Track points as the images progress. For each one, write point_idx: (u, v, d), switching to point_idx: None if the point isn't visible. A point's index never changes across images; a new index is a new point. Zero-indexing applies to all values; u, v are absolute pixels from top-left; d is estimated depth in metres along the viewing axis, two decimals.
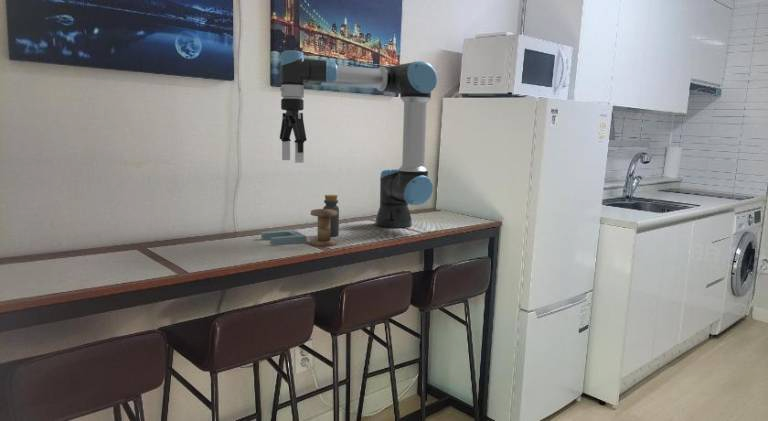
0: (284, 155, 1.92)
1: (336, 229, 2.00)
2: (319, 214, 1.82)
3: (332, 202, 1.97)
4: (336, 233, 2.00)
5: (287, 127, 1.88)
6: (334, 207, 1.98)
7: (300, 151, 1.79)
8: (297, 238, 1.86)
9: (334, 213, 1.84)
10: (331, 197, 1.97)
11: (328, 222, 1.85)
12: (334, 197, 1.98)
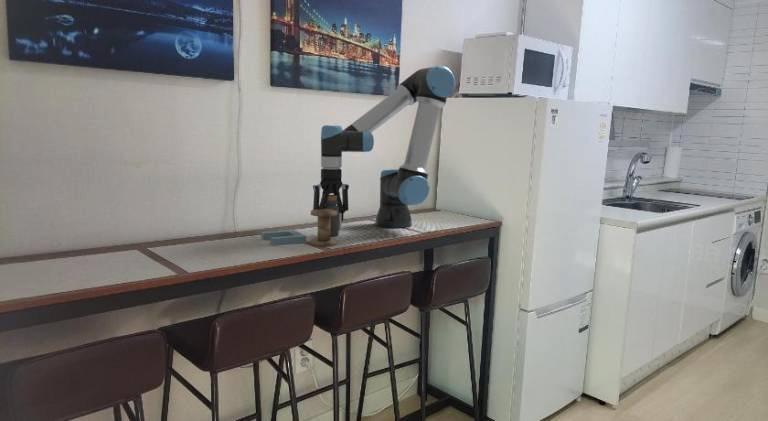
0: None
1: (336, 229, 2.00)
2: (319, 214, 1.82)
3: (332, 202, 1.97)
4: (336, 233, 2.00)
5: None
6: (334, 207, 1.98)
7: None
8: (297, 238, 1.86)
9: (334, 213, 1.84)
10: (331, 197, 1.97)
11: (328, 222, 1.85)
12: (334, 197, 1.98)
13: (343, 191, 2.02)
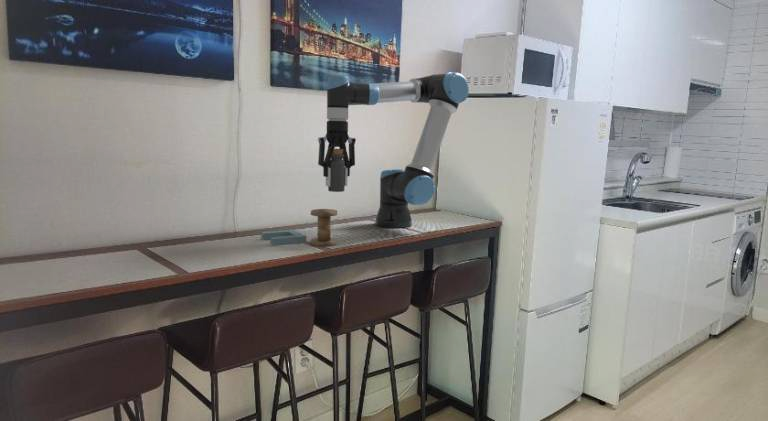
0: None
1: (342, 184, 1.93)
2: (319, 214, 1.82)
3: (338, 155, 1.91)
4: (341, 188, 1.93)
5: None
6: (340, 161, 1.92)
7: (324, 175, 1.92)
8: (297, 238, 1.86)
9: (334, 213, 1.84)
10: (337, 150, 1.91)
11: (328, 222, 1.85)
12: (340, 150, 1.91)
13: (350, 145, 1.95)
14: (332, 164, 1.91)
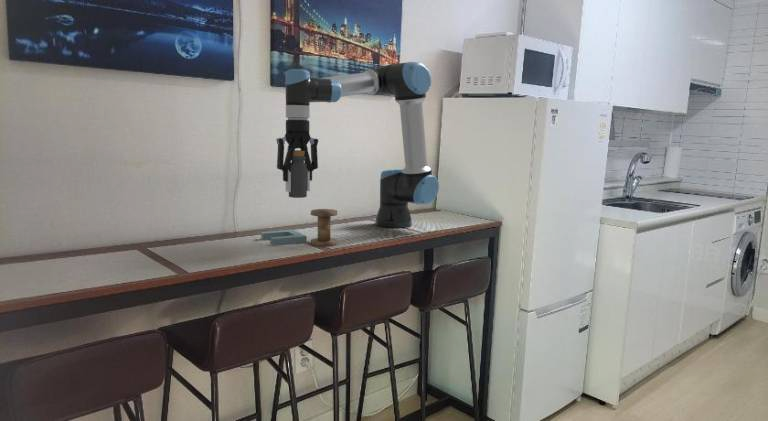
0: None
1: (303, 189, 1.75)
2: (319, 214, 1.82)
3: (298, 158, 1.73)
4: (303, 193, 1.76)
5: None
6: (301, 163, 1.74)
7: (283, 180, 1.74)
8: (297, 238, 1.86)
9: (334, 213, 1.84)
10: (297, 152, 1.73)
11: (328, 222, 1.85)
12: (301, 152, 1.74)
13: (312, 146, 1.77)
14: (293, 168, 1.73)
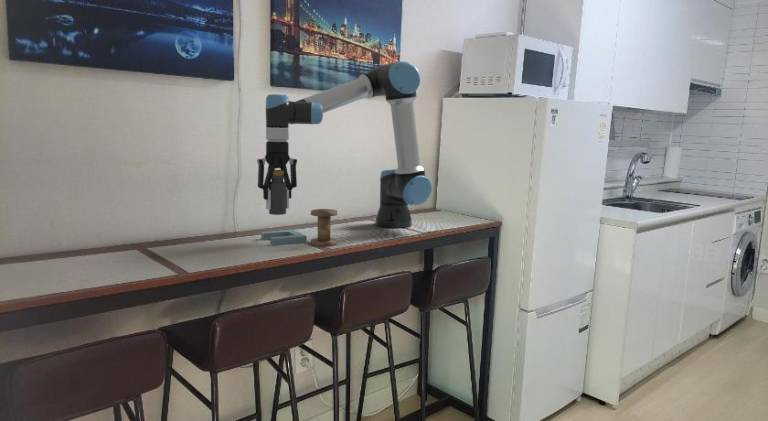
0: None
1: (283, 206, 1.86)
2: (319, 214, 1.82)
3: (278, 177, 1.84)
4: (283, 211, 1.86)
5: None
6: (280, 183, 1.85)
7: (264, 198, 1.85)
8: (297, 238, 1.86)
9: (334, 213, 1.84)
10: (277, 172, 1.84)
11: (328, 222, 1.85)
12: (280, 172, 1.84)
13: (291, 166, 1.88)
14: (272, 187, 1.84)
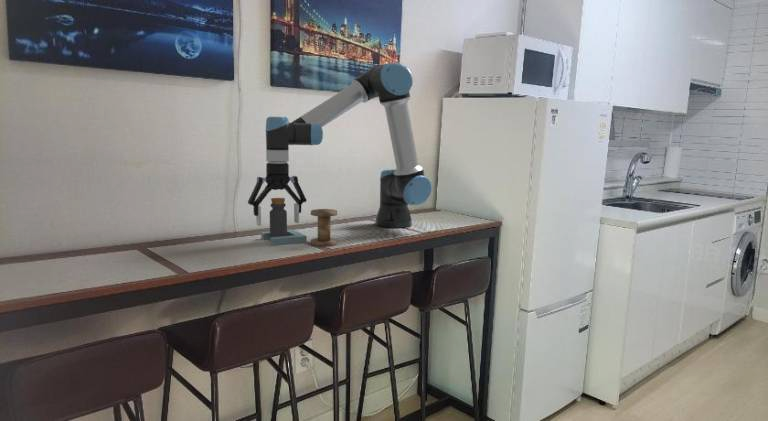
0: (294, 217, 1.92)
1: (283, 234, 1.88)
2: (319, 214, 1.82)
3: (278, 206, 1.86)
4: None
5: (286, 190, 1.89)
6: (281, 211, 1.86)
7: (254, 214, 1.84)
8: (297, 238, 1.86)
9: (334, 213, 1.84)
10: (277, 200, 1.86)
11: (328, 222, 1.85)
12: (281, 200, 1.86)
13: (294, 184, 1.90)
14: (273, 215, 1.86)
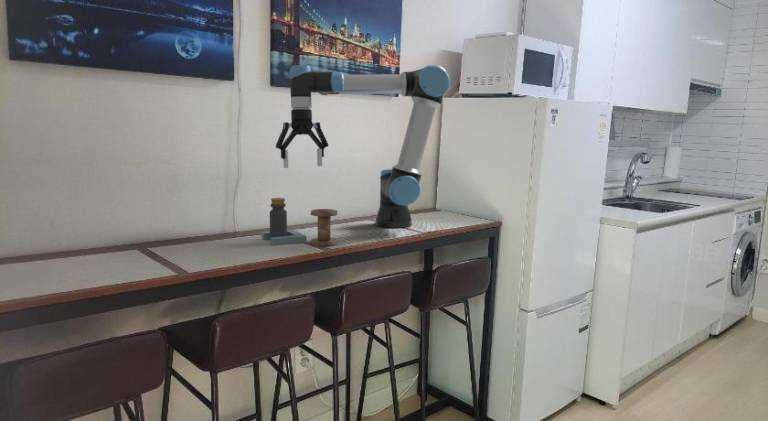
0: (317, 161, 2.06)
1: (283, 234, 1.88)
2: (319, 214, 1.82)
3: (278, 206, 1.86)
4: None
5: (309, 135, 2.03)
6: (281, 211, 1.86)
7: (281, 157, 1.98)
8: (297, 238, 1.86)
9: (334, 213, 1.84)
10: (277, 200, 1.85)
11: (328, 222, 1.85)
12: (281, 200, 1.86)
13: (317, 129, 2.03)
14: (273, 215, 1.86)
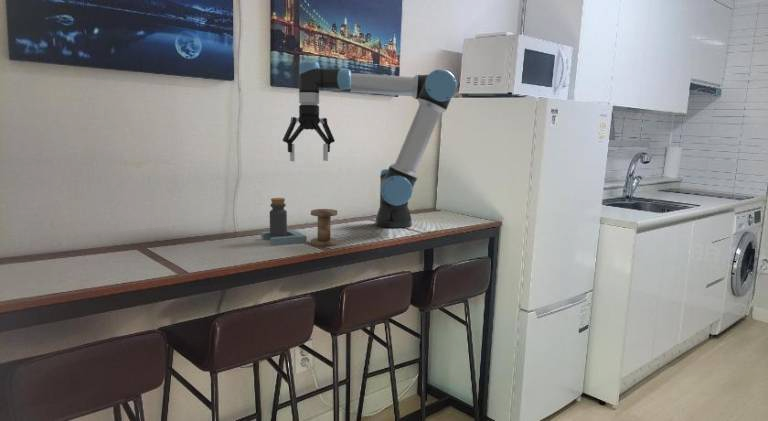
0: (323, 156, 2.12)
1: (283, 234, 1.88)
2: (319, 214, 1.82)
3: (278, 206, 1.86)
4: None
5: (316, 130, 2.09)
6: (281, 211, 1.86)
7: (288, 151, 2.04)
8: (297, 238, 1.86)
9: (334, 213, 1.84)
10: (277, 200, 1.85)
11: (328, 222, 1.85)
12: (281, 200, 1.86)
13: (323, 125, 2.09)
14: (273, 215, 1.86)
